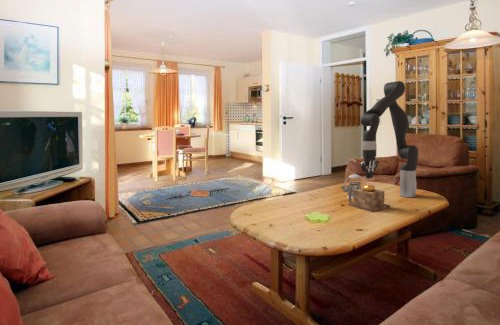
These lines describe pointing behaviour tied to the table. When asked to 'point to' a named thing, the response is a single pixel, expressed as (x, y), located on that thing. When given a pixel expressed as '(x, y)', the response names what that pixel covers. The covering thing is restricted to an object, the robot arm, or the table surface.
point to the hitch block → (369, 200)
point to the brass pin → (369, 188)
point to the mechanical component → (349, 190)
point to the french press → (353, 183)
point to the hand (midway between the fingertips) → (369, 178)
